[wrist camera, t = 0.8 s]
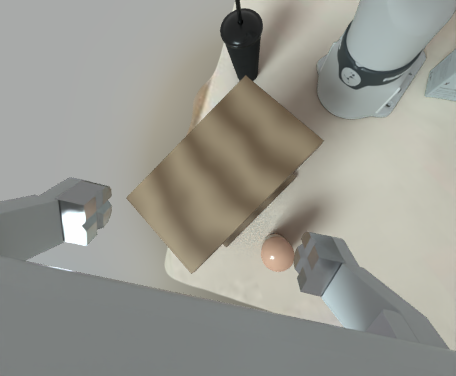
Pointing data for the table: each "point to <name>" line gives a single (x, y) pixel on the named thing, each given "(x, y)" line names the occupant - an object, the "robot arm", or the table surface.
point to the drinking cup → (243, 40)
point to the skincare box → (443, 79)
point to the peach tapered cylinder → (277, 253)
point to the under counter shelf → (223, 173)
